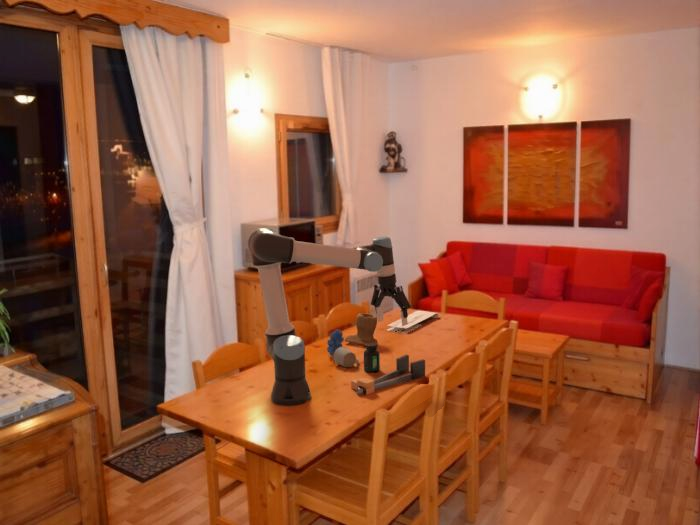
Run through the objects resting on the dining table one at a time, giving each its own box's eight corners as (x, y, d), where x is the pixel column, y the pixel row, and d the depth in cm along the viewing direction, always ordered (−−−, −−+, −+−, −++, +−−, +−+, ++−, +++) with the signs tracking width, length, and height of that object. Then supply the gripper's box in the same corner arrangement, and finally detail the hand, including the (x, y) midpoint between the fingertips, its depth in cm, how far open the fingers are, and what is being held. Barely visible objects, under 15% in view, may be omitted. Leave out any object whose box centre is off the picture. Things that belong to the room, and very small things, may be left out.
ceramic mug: (344, 369, 261) (344, 352, 260) (333, 365, 267) (332, 348, 266) (363, 364, 267) (363, 348, 266) (351, 360, 274) (351, 344, 272)
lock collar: (367, 394, 231) (366, 383, 230) (350, 388, 238) (350, 377, 237) (374, 391, 234) (374, 380, 233) (357, 385, 240) (357, 375, 240)
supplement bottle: (378, 374, 254) (378, 347, 252) (362, 373, 256) (362, 346, 254) (380, 368, 261) (380, 342, 259) (365, 368, 262) (364, 341, 260)
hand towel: (385, 324, 319) (419, 309, 352) (385, 331, 320) (419, 315, 352) (406, 327, 312) (438, 311, 345) (406, 334, 313) (438, 318, 346)
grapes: (335, 350, 289) (335, 325, 287) (347, 352, 285) (346, 327, 283) (320, 356, 279) (320, 331, 277) (332, 359, 275) (331, 333, 273)
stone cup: (382, 342, 300) (381, 312, 298) (370, 348, 290) (370, 318, 288) (356, 338, 308) (355, 309, 305) (343, 344, 298) (343, 314, 295)
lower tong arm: (368, 394, 232) (367, 376, 231) (365, 393, 233) (365, 375, 232) (425, 376, 250) (425, 360, 249) (422, 375, 252) (422, 359, 250)
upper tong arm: (360, 396, 230) (360, 378, 229) (354, 394, 232) (354, 377, 231) (412, 371, 256) (412, 356, 255) (406, 370, 258) (406, 354, 257)
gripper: (415, 273, 242) (421, 323, 246) (370, 270, 259) (377, 317, 264) (403, 278, 237) (409, 329, 241) (358, 274, 254) (365, 322, 259)
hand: (392, 323), depth 252 cm, fingers open, 13 cm apart
